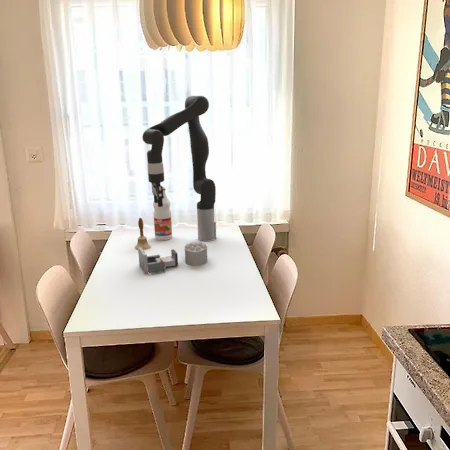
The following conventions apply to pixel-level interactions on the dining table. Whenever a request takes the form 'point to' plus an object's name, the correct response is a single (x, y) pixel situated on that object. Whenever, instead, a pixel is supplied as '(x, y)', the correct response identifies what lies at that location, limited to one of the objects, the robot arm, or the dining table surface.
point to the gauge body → (150, 263)
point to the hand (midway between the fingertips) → (158, 204)
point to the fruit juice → (162, 219)
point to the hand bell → (142, 237)
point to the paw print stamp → (196, 254)
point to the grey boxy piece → (169, 259)
